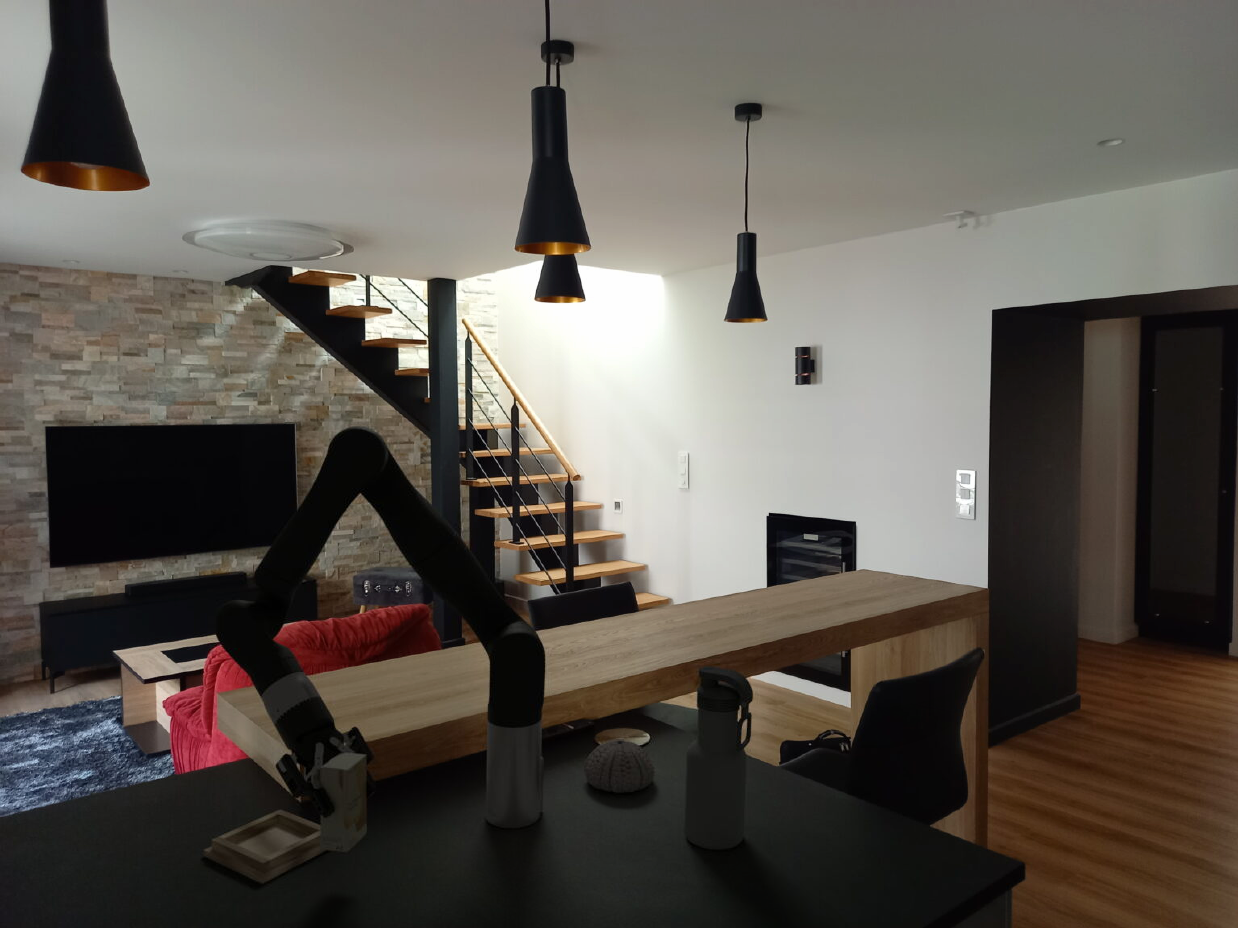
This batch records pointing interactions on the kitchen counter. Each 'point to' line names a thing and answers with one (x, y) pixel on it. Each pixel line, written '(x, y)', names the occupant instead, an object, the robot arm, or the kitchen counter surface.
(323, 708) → the robot arm
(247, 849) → the tray
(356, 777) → the skincare box
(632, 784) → the sea urchin shell
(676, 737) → the kitchen counter surface
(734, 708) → the water bottle
